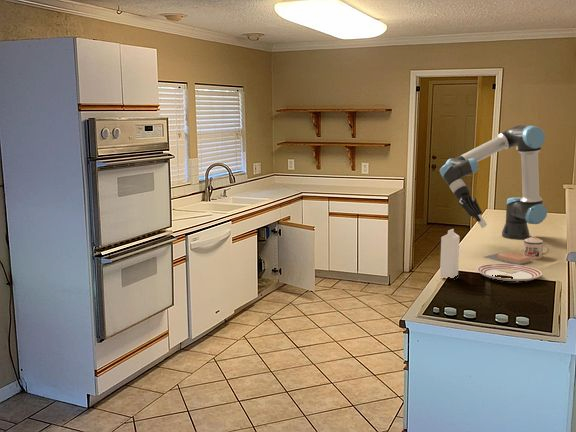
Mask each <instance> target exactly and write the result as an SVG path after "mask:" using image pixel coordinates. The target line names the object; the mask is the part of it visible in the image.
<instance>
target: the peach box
mask: <svg viewBox="0 0 576 432" xmlns="http://www.w3.org/2000/svg"><path fill="white" fill-rule="evenodd" d="M497 254H498V257H497V260H501V261H505V262H509V263H514V264H518V265H520V264H522V265H525V264H524V263H526V264H528V263H527V262H530V261H531V259H530V257H529V256H525V255H523V254H519V253H514V252H511V251H508V252H504V253H497ZM497 260H496V261H497ZM501 261H500V262H501ZM505 262H504V263H505ZM509 263H508V264H509ZM530 263H531V262H530Z"/></svg>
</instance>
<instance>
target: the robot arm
mask: <svg viewBox="0 0 576 432" xmlns="http://www.w3.org/2000/svg"><path fill="white" fill-rule="evenodd" d="M545 135H546V134H545V132H544V130H543V129H542V128H541V127H539V126H536V125H521V124H520V125H515V126H511V127H510V128H508V129H505V130H504V131H501V132H500V133H499V134H497V137H494V138H492V139H490V140H489V141H487V142H485V143H483V144H480V145H479V146H476V147H475V148H472V149H471V150H469V151H467V152H465V153H462V154H461V155H459V156H457V157H455V158H453V157H451V158H449V159H447V161H446V162H445V164H444V165H442V167H440V169H439V173H440V176H441V177H442V179H443V180H444V181H445V182H446V184H447V185H448V187H449V189H450V191H452V193H453V194H454V196H455V198H456V199H457V200H459V202H458V204H459V205H460V206H461V207H462V208H463V209H464V210H465V211H466V213H467V214H468V215H469V216H470V217H471V218H472V219H475V220H476V222H477V223H478V224H479V227H481V229H483V228H485V227H486V226H487V225H488V224H487V222H486V221H485V219H484V218H483V216H482V213H483V211H482V210H481V207H480V206H479V203H478V200H477V198H476V197H475V198H473V196H471V193H470V192H471V191H470V189H469V187H468V186H466V183H465V181H464V180H463V179H462V178H465V177H466V176H467V177H468V176H469V175H472V174H474V173H476V172H477V171H479V162H480V161H483V160H484V159H486V158H489V157H490V156H492V155H494V154H496V153H498V152H500V151H503V150H508V149H510V148H513V147H517V153H519V154H520V160H521V162H520V163H521V164H520V165H521V186H522V189H521V191H522V192H521V193H522V196H521V197H509V198H507V200H506V205H505V207H506V209H505V210H506V211H505V224H504V226H503V229H502V231H501V236H502V237H503V238H507V239H511V240H513V239H514V240H525V239H528V238H530V237H531V236H530V235H531V234H530V229H529V226H528V224H530V225H539V224H541V223H542V222H543V221H545V219H546V218H547V217H548V216H547V215H548V208H547V207H546V206H545V205H544V204H543V198H542V197H541V196H540V179H539V177H540V173H539V153H540V152H541V150H542V146H543V145H544V143H545V141H546V136H545Z"/></svg>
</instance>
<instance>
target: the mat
mask: <svg viewBox="0 0 576 432" xmlns="http://www.w3.org/2000/svg"><path fill="white" fill-rule="evenodd" d="M498 254H499V253H495V254H494V253H493V254H490V255H485V256H483V258H485V259H489V260H493V261H497V262H502V263H504V264H514V263H509V262H505V261H501V260H497V257H498ZM533 262H534V261H533V260H530V262H527V263H524V264H520V265H522V266H523V265H526V264H529V263H533ZM515 265H518V264H515Z"/></svg>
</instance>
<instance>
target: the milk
mask: <svg viewBox="0 0 576 432" xmlns="http://www.w3.org/2000/svg"><path fill="white" fill-rule="evenodd" d="M454 229H455V228H451V229H449V230H447V233H446V234H445V235H443V236H441V239H440V261H439V262H440V263H439V264H440V265H439V267H440V268H439V278H440V277H450V278H454V277H455V276H457V275H458V276H459V264H460V263H459V261H460V259H459V257H460V239H461V238H460V235H459V234H457V233H456V232H455V230H454Z"/></svg>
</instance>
